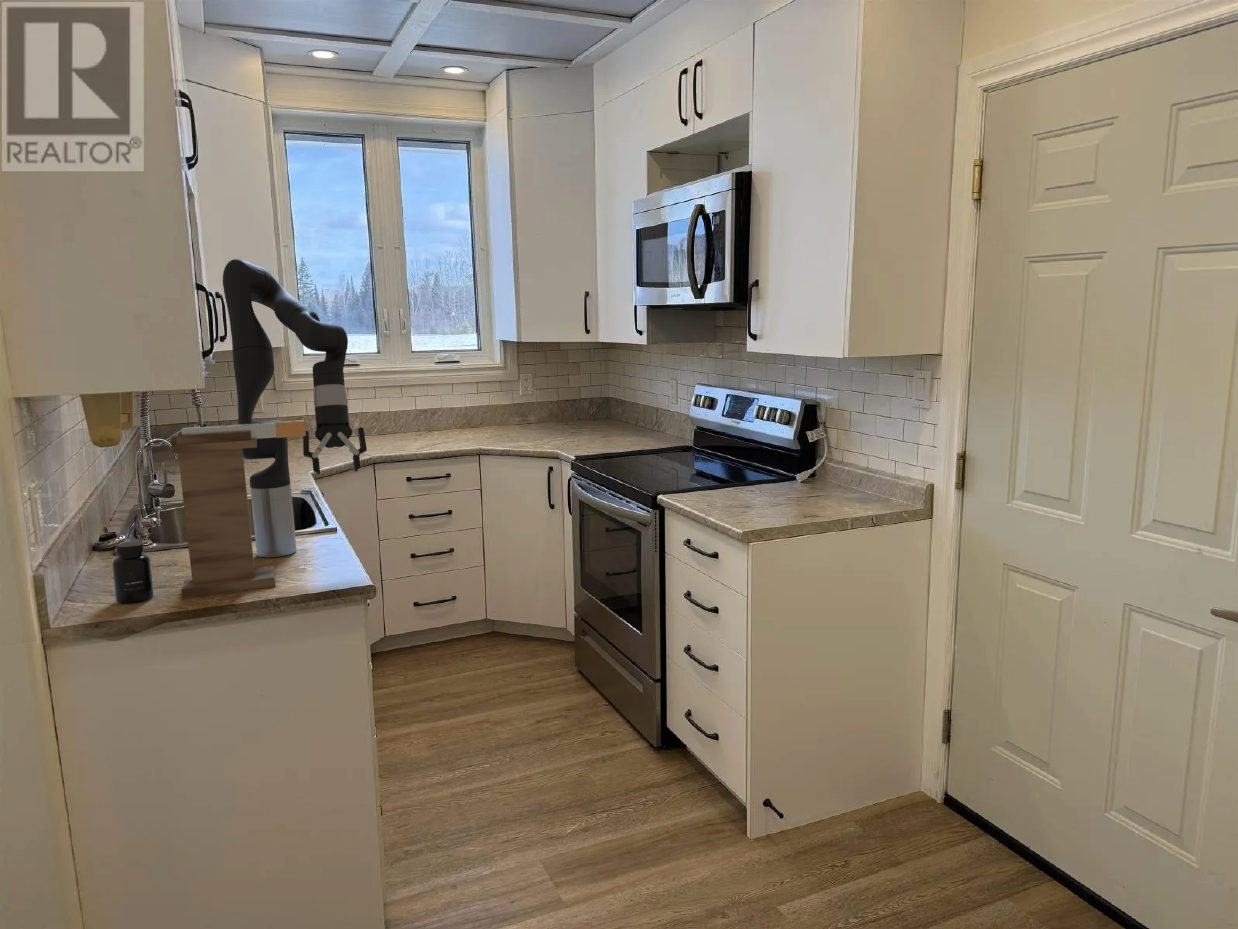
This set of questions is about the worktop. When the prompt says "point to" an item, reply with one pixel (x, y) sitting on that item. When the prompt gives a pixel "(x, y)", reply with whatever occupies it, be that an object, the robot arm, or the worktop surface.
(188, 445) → the post
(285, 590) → the worktop surface
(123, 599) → the supplement bottle
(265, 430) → the grey and tan bar
